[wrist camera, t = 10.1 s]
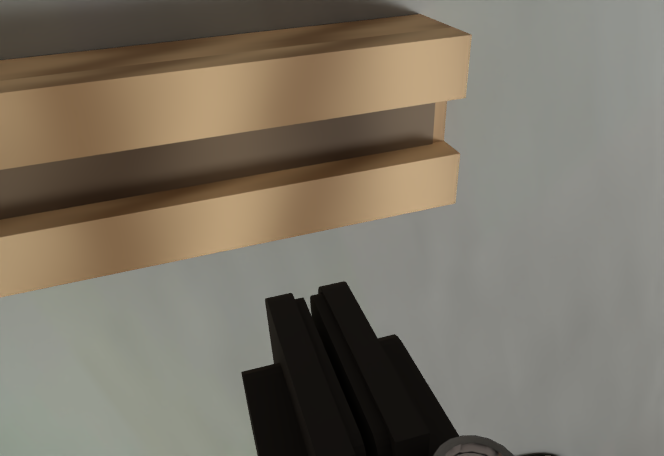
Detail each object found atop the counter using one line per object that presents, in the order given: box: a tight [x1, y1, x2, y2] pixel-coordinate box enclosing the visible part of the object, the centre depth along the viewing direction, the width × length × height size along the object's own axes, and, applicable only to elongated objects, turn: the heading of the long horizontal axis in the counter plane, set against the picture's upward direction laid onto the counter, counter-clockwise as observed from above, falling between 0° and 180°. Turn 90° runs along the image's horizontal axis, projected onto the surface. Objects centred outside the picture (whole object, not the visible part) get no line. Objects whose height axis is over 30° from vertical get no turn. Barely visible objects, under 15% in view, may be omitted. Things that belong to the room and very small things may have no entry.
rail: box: [0, 14, 472, 297], centre depth 16 cm, size 22×6×5 cm, turn 92°
